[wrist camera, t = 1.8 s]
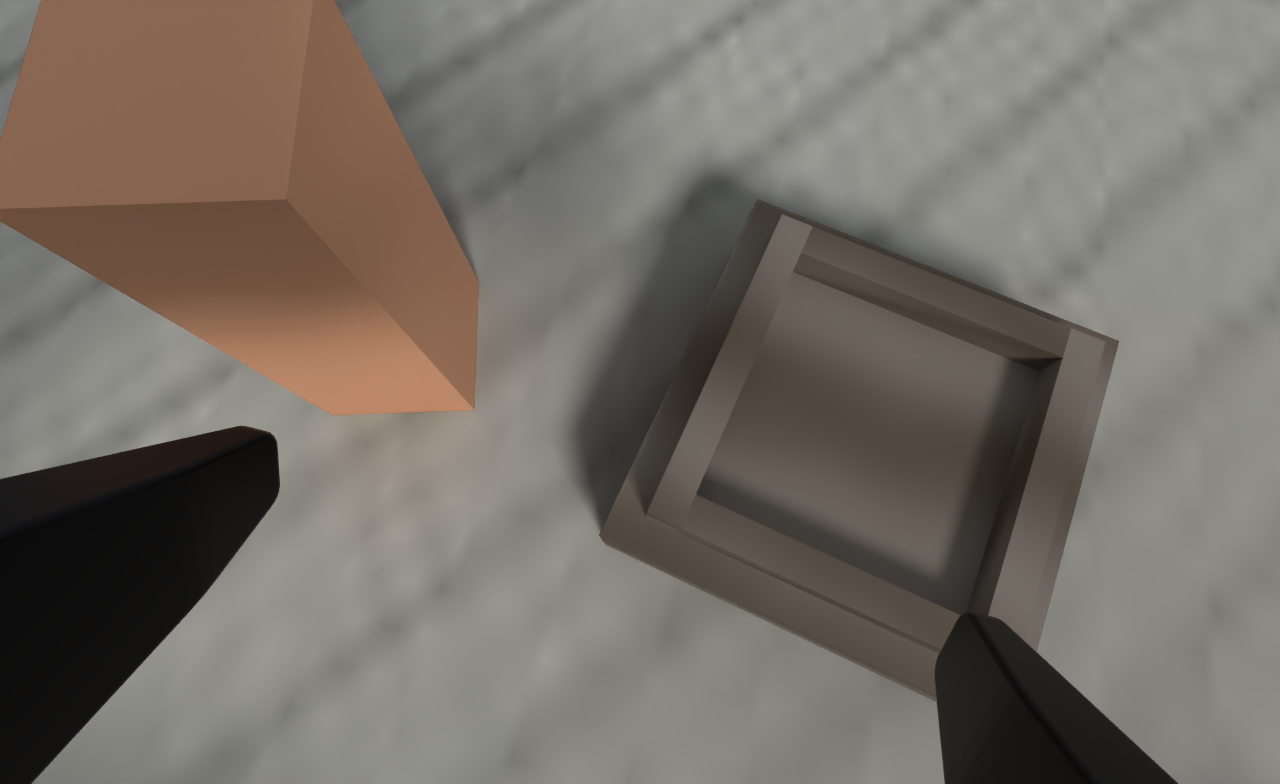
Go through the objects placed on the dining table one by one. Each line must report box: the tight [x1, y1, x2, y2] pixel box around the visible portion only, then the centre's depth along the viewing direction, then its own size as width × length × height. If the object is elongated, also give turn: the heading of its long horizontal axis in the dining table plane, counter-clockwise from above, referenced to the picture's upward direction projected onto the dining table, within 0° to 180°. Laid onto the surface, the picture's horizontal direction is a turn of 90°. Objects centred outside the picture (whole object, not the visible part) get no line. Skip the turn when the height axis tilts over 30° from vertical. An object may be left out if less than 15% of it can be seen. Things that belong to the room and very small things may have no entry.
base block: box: [599, 199, 1119, 702], centre depth 21 cm, size 12×12×5 cm
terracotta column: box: [0, 0, 479, 415], centre depth 18 cm, size 5×5×13 cm
